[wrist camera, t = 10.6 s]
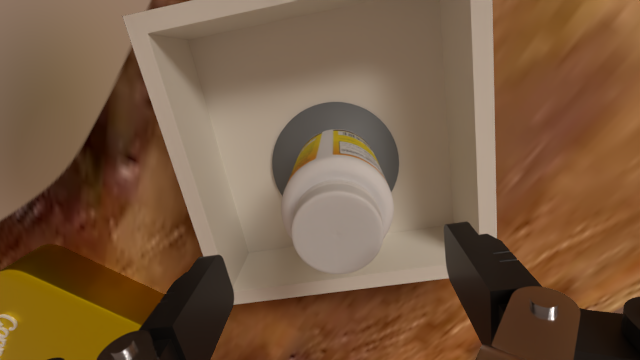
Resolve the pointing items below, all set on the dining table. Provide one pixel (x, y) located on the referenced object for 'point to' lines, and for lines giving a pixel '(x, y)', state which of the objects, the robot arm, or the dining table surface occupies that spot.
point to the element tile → (67, 306)
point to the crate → (323, 123)
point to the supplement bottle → (337, 203)
